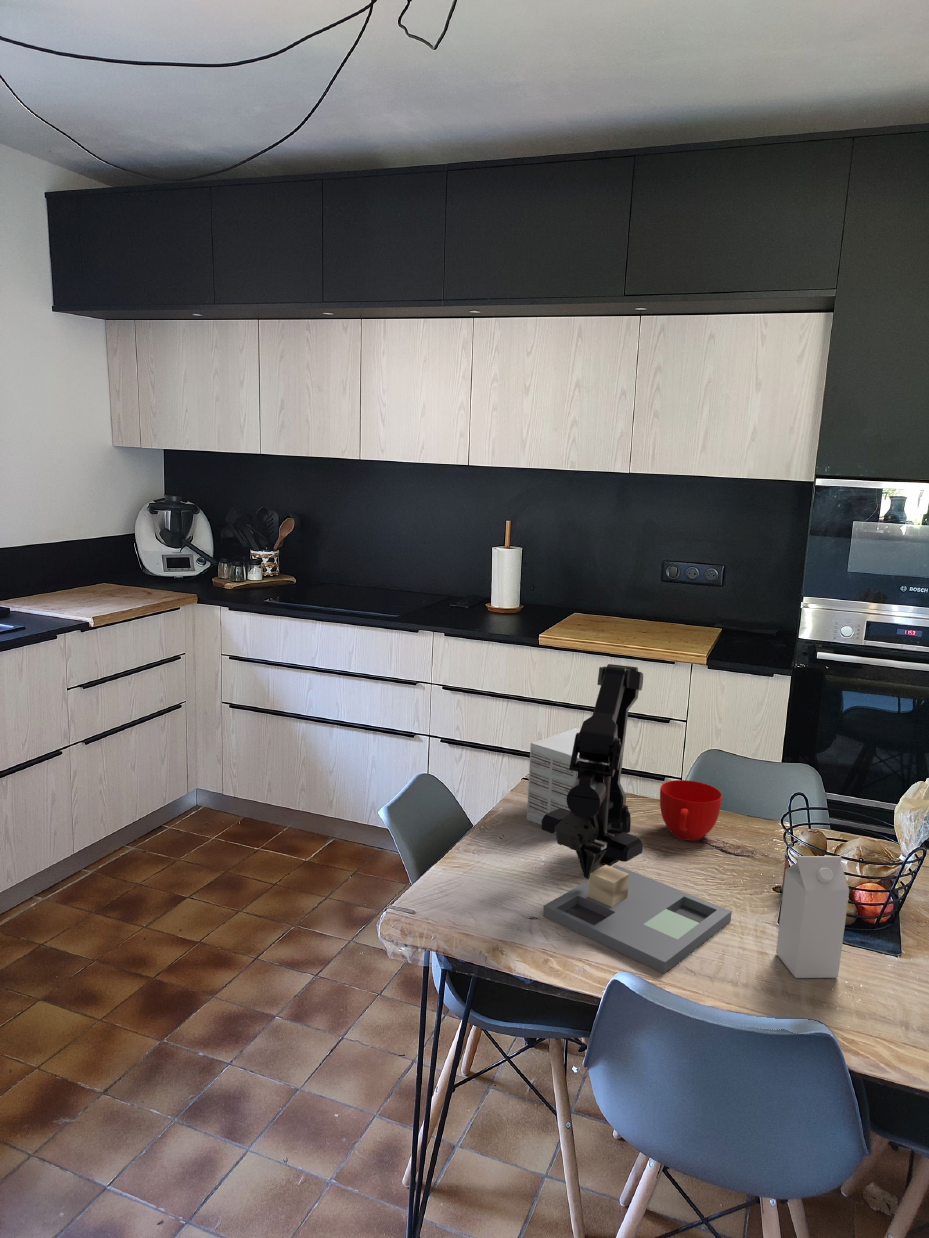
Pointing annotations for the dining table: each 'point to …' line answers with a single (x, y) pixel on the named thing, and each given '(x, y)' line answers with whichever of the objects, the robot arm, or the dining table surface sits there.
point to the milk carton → (813, 917)
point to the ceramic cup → (689, 808)
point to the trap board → (642, 920)
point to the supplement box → (550, 774)
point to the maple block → (608, 885)
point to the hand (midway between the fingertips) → (587, 877)
